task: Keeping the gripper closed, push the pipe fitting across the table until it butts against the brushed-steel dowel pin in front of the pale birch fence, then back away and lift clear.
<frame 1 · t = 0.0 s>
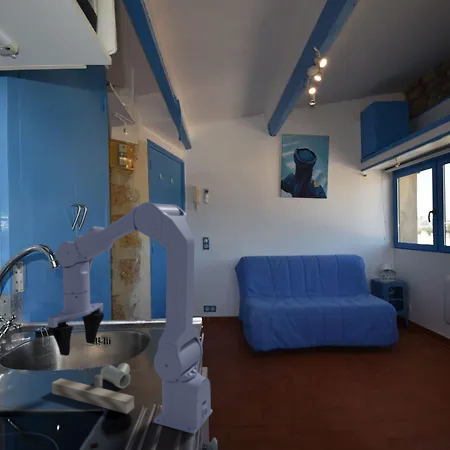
hand: (78, 348, 79), 10 cm above the counter, tool pointing down, fingers open, 7 cm apart
dowel jig: (98, 395, 76), on the counter
pipe fitting: (121, 382, 84), on the counter
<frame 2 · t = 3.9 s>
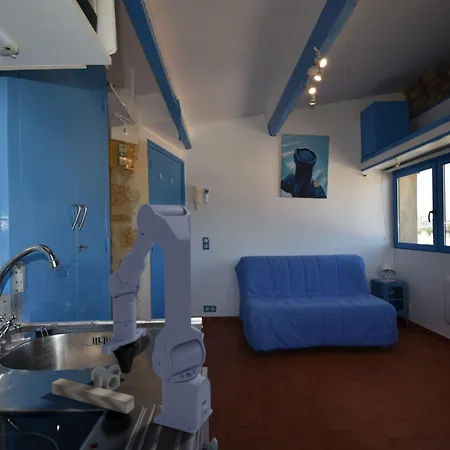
hand: (125, 372, 85), 1 cm above the counter, tool pointing down, fingers closed
pipe fitting: (111, 383, 83), on the counter
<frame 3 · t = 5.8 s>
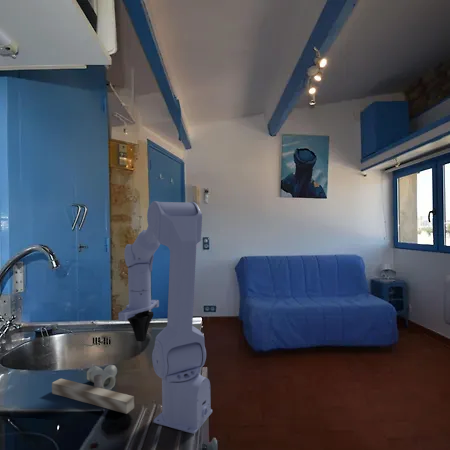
hand: (140, 340, 88), 8 cm above the counter, tool pointing down, fingers closed
pipe fitting: (107, 384, 83), on the counter
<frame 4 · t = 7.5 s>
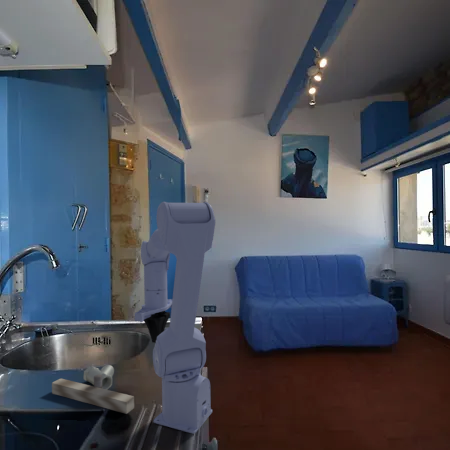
hand: (156, 341, 84), 9 cm above the counter, tool pointing down, fingers closed
nothing on the counter moved.
at the end: pipe fitting moved 4.3 cm from its start; pipe fitting inside the target area on the counter beside the dowel jig (3.5 cm from its centre), on the counter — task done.
